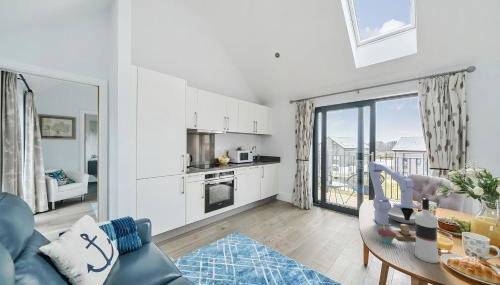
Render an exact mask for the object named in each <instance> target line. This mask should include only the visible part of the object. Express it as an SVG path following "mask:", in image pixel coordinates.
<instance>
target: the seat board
mask: <svg viewBox="0 0 500 285" xmlns="http://www.w3.org/2000/svg"><path fill="white" fill-rule="evenodd" d="M390 230H391V231H392V232H393V233H394V234H395V239H397V240H398V241H409V242H416V237H415V235H416V230H410V231H409V236H403V235H402V234H401V229H400V230H399V229H390Z"/></svg>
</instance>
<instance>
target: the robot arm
mask: <svg viewBox="0 0 500 285" xmlns="http://www.w3.org/2000/svg"><path fill="white" fill-rule="evenodd" d="M367 169H368V172H369V176H370V178H371V182H372V186H373V190H374V195H375V197H374V198H373V200H372V204H373V209H374V211H373V212H374V218H372V220H373V221H374V222H375V221H376V222H375V223H377V225H380V226H383V222H384V225H385V226H392V224H391V223H390V221H389V219H390V217H389V215H388V211H389V210H390V209H391V207H393V208H400V209H401V211H402V212H403V215H404V218H405V220H407V221H409V219H410V217H411V215H412V213H413V212H414V211H415V210H422V205H419V204H414V202H413V200H414V199H413V198H414V196H413V195H414V194H413V193H414V192H413V188H414V187H416V182H415V180H414V179H413V178H411V177H410V178H409V177H407V176H405V175H404V174H402V173H401V172H400V171H397V170H396V171H394V169H392V168H391V166H388V165H387V162H385V161H384V160H383V161H382V160H381V161H369V162H368V165H367ZM382 172H385V173H386V174H388V175H389V176H390V179H392V180H394V181H395V182H396V183H397V184H398V187H399V190H400V203H396V204H395V203H393V204H391V201H390V199H389V198H388V197H386V196H385V192H384V189H383V186H382V182H381V178H380V174H381V173H382Z"/></svg>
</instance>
